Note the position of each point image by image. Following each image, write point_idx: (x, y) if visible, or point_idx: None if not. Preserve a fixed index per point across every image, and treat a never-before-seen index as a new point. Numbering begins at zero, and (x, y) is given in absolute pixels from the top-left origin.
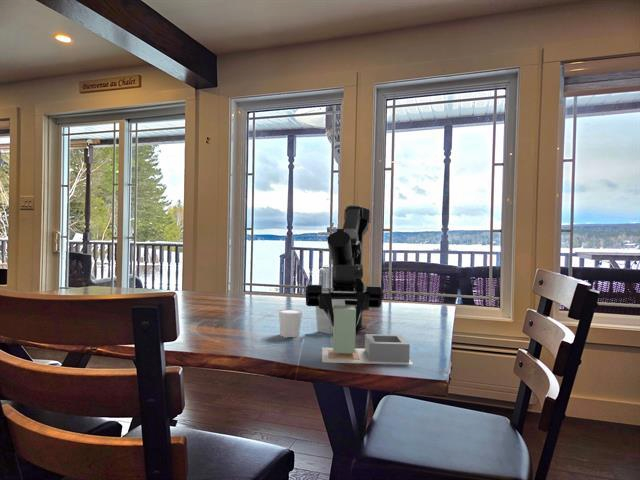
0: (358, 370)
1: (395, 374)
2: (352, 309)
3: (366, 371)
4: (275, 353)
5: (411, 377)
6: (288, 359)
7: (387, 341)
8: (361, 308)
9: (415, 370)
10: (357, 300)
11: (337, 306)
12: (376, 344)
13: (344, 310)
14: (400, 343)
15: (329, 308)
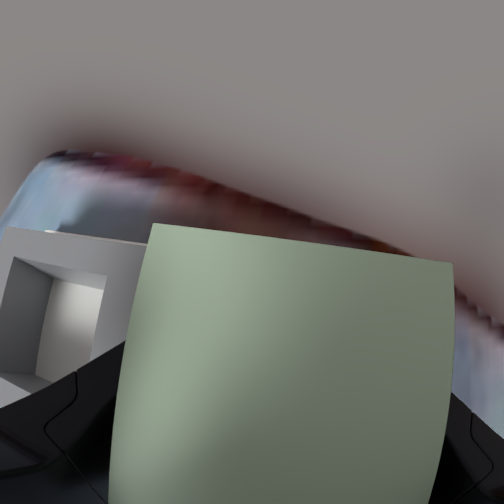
0: (232, 230)
1: (123, 190)
2: (200, 235)
3: (205, 219)
4: (497, 425)
5: (95, 169)
6: (469, 362)
7: (34, 386)
8: (41, 395)
9: (53, 224)
10: (14, 467)
11: (386, 492)
12: (116, 243)
13: (319, 249)
14: (24, 239)
15: (474, 429)
